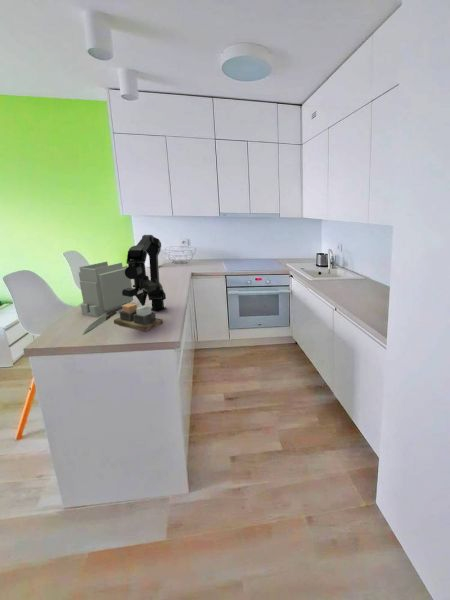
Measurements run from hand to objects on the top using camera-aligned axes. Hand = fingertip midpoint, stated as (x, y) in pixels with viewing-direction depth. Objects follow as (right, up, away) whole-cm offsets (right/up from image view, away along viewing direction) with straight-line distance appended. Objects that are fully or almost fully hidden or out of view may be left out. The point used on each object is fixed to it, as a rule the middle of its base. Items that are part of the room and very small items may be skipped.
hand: (143, 305), depth 140 cm
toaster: (-29, -2, +31) cm, 42 cm away
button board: (-4, -9, +5) cm, 11 cm away
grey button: (0, -5, +1) cm, 5 cm away
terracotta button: (-8, -4, +6) cm, 11 cm away
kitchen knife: (-24, -10, +7) cm, 27 cm away
